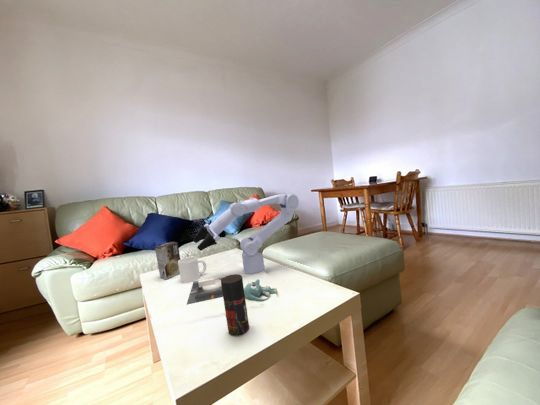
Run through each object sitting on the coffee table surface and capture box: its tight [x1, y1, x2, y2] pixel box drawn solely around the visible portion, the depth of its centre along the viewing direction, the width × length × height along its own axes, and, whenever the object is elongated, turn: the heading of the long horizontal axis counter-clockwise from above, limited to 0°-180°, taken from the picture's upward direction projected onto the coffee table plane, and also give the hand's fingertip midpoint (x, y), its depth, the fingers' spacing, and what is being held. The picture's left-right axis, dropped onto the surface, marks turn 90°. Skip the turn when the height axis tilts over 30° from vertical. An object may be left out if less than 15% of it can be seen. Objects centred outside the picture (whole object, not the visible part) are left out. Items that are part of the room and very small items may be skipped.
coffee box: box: [154, 241, 182, 281], centre depth 119 cm, size 9×6×16 cm
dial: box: [192, 277, 222, 292], centre depth 94 cm, size 11×8×4 cm
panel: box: [186, 276, 225, 306], centre depth 94 cm, size 18×18×3 cm
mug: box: [178, 256, 207, 284], centre depth 109 cm, size 12×8×10 cm
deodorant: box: [221, 274, 250, 337], centre depth 67 cm, size 6×6×15 cm
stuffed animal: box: [244, 279, 279, 302], centre depth 84 cm, size 11×7×12 cm
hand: (196, 245), depth 99 cm, fingers open, 7 cm apart
